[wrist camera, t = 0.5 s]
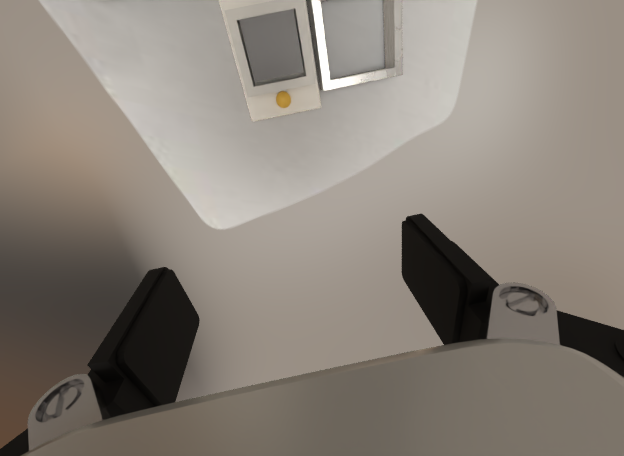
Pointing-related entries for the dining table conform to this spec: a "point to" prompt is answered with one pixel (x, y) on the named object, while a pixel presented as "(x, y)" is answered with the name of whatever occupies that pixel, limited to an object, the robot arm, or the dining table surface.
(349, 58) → the dining table surface
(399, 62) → the frame
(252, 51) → the dark grey block
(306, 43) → the white step frame
